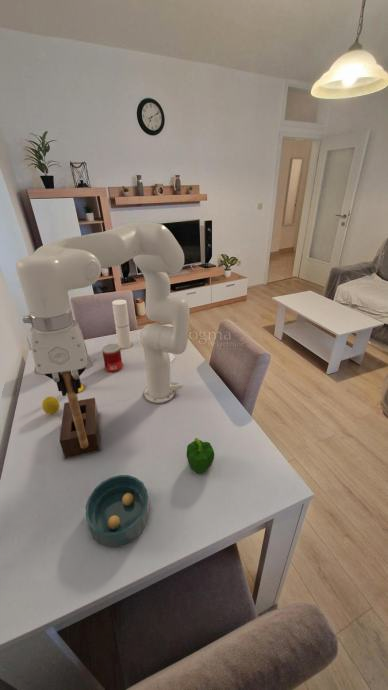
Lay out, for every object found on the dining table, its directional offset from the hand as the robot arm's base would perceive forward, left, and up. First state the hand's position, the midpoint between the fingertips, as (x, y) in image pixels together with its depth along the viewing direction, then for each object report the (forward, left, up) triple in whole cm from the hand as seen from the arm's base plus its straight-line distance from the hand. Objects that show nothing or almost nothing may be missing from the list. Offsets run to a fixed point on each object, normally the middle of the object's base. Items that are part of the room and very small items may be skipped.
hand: (70, 390), depth 65 cm
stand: (+3, -19, -33) cm, 39 cm away
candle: (+6, -46, -34) cm, 58 cm away
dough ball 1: (-5, +15, -31) cm, 35 cm away
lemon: (+14, -33, -34) cm, 50 cm away
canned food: (-10, -58, -34) cm, 68 cm away
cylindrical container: (-17, -79, -34) cm, 88 cm away
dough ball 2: (-9, +10, -31) cm, 34 cm away
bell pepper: (-32, +5, -34) cm, 46 cm away
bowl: (-7, +13, -33) cm, 36 cm away
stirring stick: (0, 0, -19) cm, 19 cm away
